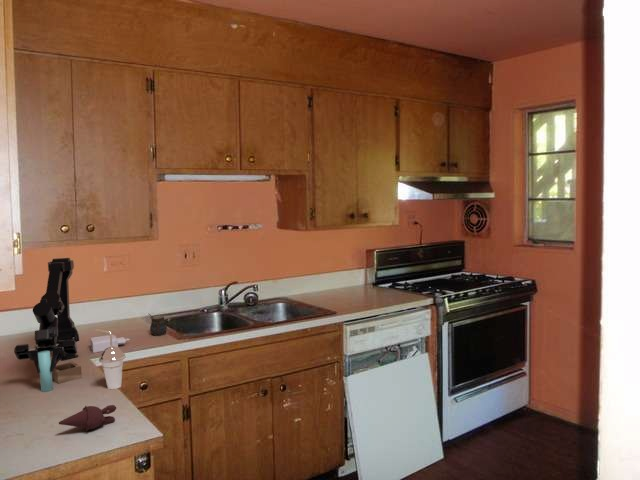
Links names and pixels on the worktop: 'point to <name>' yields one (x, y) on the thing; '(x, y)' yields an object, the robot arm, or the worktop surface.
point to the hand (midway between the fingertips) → (44, 372)
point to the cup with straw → (112, 364)
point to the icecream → (90, 417)
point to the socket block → (66, 372)
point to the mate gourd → (158, 325)
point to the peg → (45, 371)
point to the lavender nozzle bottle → (105, 342)
